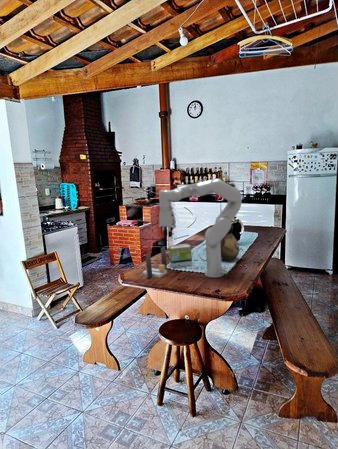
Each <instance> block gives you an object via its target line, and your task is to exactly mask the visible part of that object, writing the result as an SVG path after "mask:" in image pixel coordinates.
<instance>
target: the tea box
mask: <svg viewBox="0 0 338 449" xmlns="http://www.w3.org/2000/svg"><path fill="white" fill-rule="evenodd" d="M192 256H193V254H192V246H191V245H190V244H189V243H182V244H181V243H179V244H171V245H168V258H169V265H170V267H171V266H172V267H171V268H172V269H173V267H175V268H180V267H179V266H183V267H189V266H188V265H192V266H193V257H192Z"/></svg>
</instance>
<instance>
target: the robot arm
mask: <svg viewBox="0 0 338 449" xmlns="http://www.w3.org/2000/svg"><path fill="white" fill-rule="evenodd" d="M211 194H215V195H218V196H219V197H221V198H223V199H224V200H226V201H227V202H226V204H225V206H224V208H223V210H222V211H221V212H220V213H219V214H218V216H217V217H216V218H215V220H214V223H213V225H212V226H211V227H209V228H207V229H206V231H205V233H204V238H205V240H204V241H205V254H206V255H205V257H206V271H205V272H204V276H206V277H208V278H221V277H224V275H227V274H228V270H227V269H224V267H222V258H221V244H220V241H221V240H222V239H223V238H224V236H225V235H226V234H227V232H228V231H229V230H230V228H231V224H232V222H233V220H234V219H235V217H236V216H237V215H238V213H239V211H240V209H241V207H242V202H243V201H242V194H241V191H240V190H239V189H238V188H237V187H234V186H232V185H230V184H229V183H226V182H225V181H223V179H221V178H212V179H208V180H204V181H200V182H199V181H198V182H195V183H192V184H188V185H183V186H178V187H176V188H174V189H171V190H170V189H160V190H159V192H158V197H159V216H158V227H159V228H161V229H162V232H163V237H164V238H166V237H167V236H168V238H172V237H173V230H174V229H175V228H177V225H176V217H175V213H174V211H173V210H174V207H173V206H172V202H179V201H180V200H182V199H185V198H189V197H202V196H206V195H211ZM167 227H168V229H167ZM231 229H232V228H231Z"/></svg>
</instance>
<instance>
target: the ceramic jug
mask: <svg viewBox="0 0 338 449" xmlns="http://www.w3.org/2000/svg"><path fill="white" fill-rule="evenodd" d="M232 228H233V224H232V223H231V228H230V230H229V231H228V232H227V234H226V235H225V236H224V238H223V239H222V240H221V241H220V244H221V262H226V263H227V262H228V263H229V262H234V261H235V260H236V259H237V257H238V256H239V253H240V246H239V243H238V241H237V239H236V237H235V236H234V234H233V233H232Z"/></svg>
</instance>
